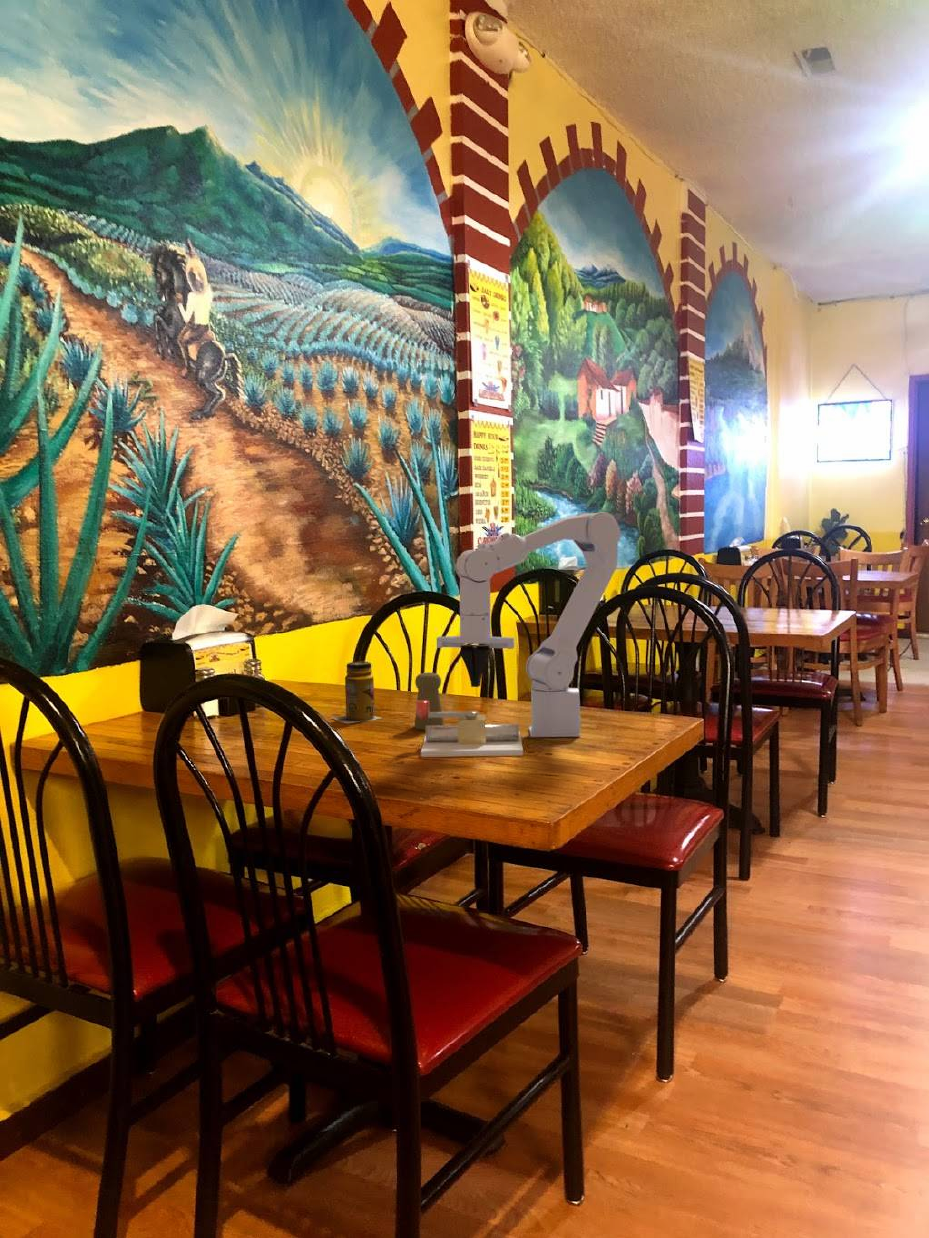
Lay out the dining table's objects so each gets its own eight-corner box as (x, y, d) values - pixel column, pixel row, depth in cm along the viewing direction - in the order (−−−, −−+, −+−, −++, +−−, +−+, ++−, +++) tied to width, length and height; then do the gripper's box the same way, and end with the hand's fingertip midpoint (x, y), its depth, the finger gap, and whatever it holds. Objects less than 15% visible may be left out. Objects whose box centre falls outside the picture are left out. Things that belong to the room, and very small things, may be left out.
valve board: (519, 736, 186) (519, 731, 185) (522, 755, 171) (522, 749, 171) (426, 738, 186) (426, 732, 186) (421, 756, 171) (420, 751, 171)
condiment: (382, 719, 205) (380, 663, 204) (347, 724, 200) (345, 667, 199) (365, 714, 211) (363, 659, 210) (330, 719, 206) (328, 663, 205)
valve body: (518, 737, 181) (517, 714, 180) (518, 743, 176) (518, 719, 175) (427, 738, 181) (426, 715, 180) (425, 744, 176) (424, 721, 175)
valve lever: (478, 715, 179) (478, 699, 179) (478, 718, 177) (477, 702, 176) (417, 716, 179) (416, 700, 179) (415, 718, 177) (415, 702, 177)
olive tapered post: (440, 730, 193) (439, 675, 192) (411, 729, 194) (409, 675, 193) (447, 723, 199) (445, 670, 198) (418, 723, 200) (417, 670, 199)
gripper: (516, 612, 183) (517, 683, 185) (442, 611, 186) (442, 681, 187) (511, 616, 176) (511, 689, 178) (433, 615, 179) (434, 687, 181)
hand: (475, 686), depth 182 cm, fingers closed
